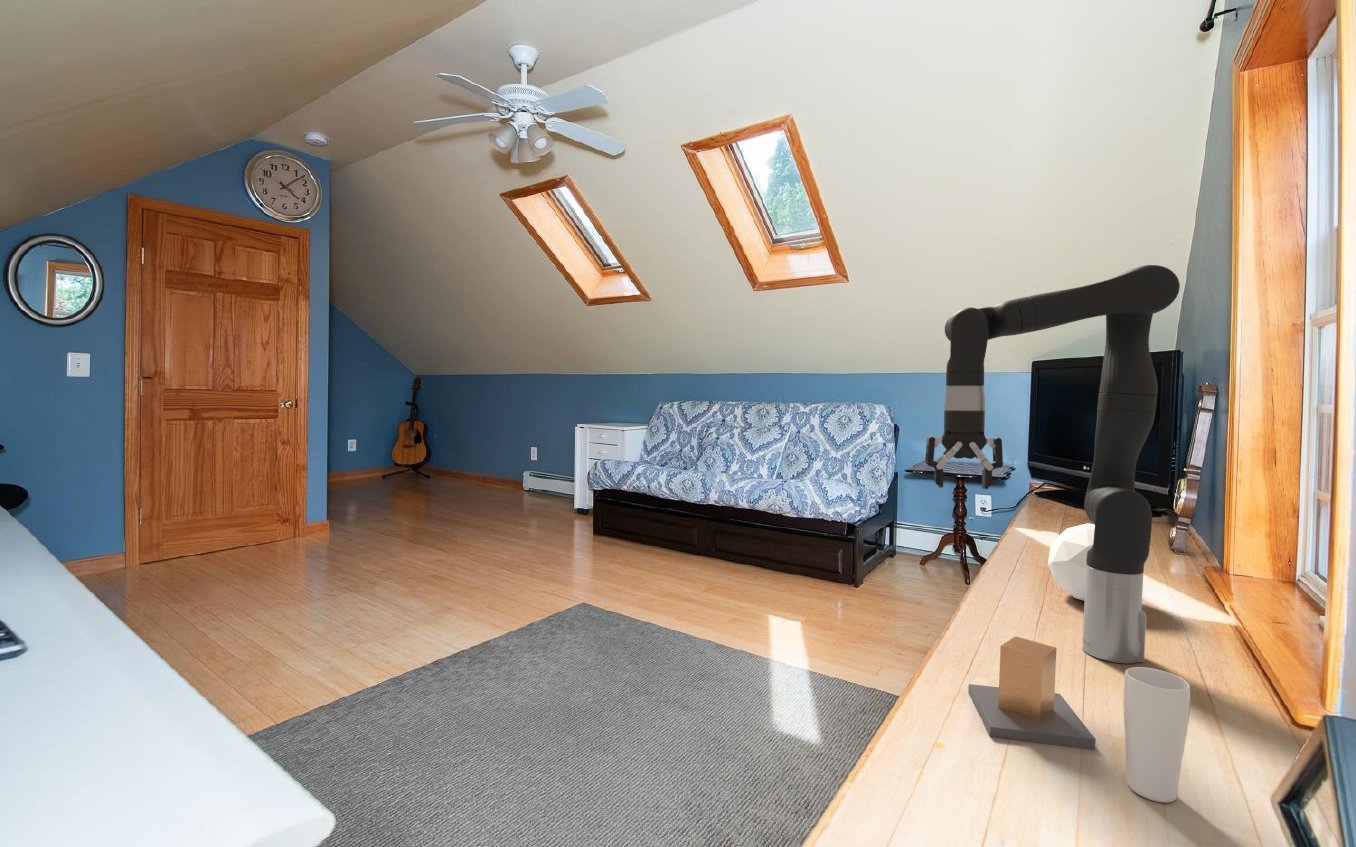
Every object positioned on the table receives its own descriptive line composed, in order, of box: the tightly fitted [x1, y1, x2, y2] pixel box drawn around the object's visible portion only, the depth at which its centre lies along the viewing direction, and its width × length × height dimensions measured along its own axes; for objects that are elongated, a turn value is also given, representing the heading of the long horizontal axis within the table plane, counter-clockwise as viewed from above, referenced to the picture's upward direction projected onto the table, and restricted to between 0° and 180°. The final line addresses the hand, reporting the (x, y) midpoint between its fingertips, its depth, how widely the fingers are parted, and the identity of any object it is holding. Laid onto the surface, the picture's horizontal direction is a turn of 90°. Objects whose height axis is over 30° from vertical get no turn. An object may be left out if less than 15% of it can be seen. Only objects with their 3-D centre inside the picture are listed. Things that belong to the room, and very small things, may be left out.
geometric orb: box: [1047, 523, 1095, 602], centre depth 155 cm, size 19×20×20 cm
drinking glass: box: [1122, 666, 1191, 804], centre depth 80 cm, size 7×7×15 cm
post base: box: [968, 683, 1097, 750], centre depth 98 cm, size 14×14×8 cm
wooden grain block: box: [998, 636, 1057, 723], centre depth 98 cm, size 6×6×10 cm
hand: (962, 487), depth 128 cm, fingers open, 8 cm apart
